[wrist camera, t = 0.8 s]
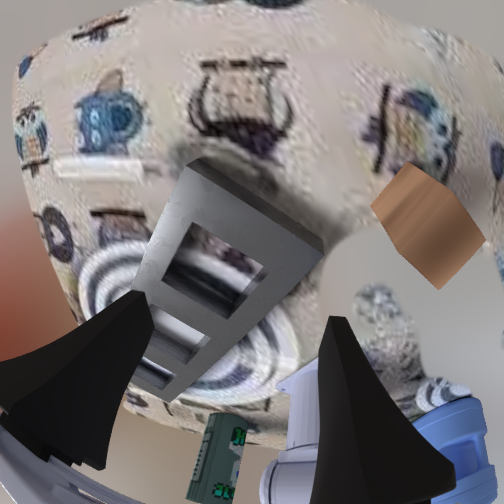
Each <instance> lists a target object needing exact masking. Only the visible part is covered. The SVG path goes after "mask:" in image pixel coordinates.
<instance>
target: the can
mask: <svg viewBox="0 0 504 504" xmlns="http://www.w3.org/2000/svg"><path fill="white" fill-rule="evenodd" d="M247 428H248V423H247V421H245V420H243V418H239V416H235V415H232V414H228V413H225V414H224V413H221V412H220V413H213V414H210V415H209V417H208V421H207V424H206V428H205V431H204V435H203V439H202V442H201V446H200V449H199V453H198V456H197V460H196V463H195V467H194V470H193V473H192V477H191V481H190V484H189V488H188V491H187V495H186V498H185V499H187V500H190V501H194V502H197V503H202V504H232V501H233V496H234V492H235V487H236V483H237V478H238V473H239V468H240V464H241V458H242V454H243V449H244V444H245V439H246V434H247Z"/></svg>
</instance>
